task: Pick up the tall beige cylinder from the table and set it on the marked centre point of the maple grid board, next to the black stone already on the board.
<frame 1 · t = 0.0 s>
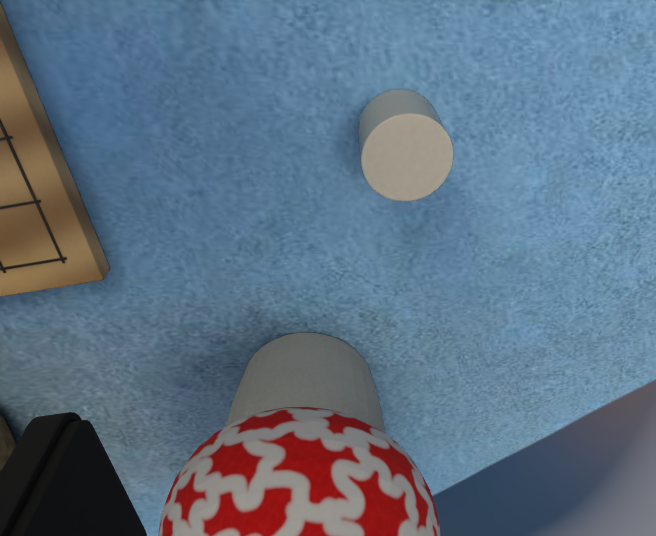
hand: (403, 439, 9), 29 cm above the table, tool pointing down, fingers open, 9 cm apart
beige cylinder: (398, 130, 36), on the table
decorative object: (307, 381, 46), on the table
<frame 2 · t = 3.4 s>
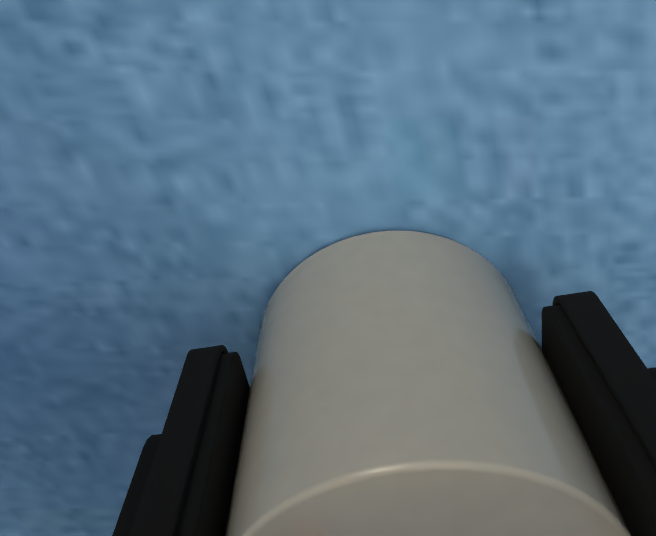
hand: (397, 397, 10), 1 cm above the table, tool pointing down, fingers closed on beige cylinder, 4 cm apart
beige cylinder: (390, 345, 11), on the table, touching gripper
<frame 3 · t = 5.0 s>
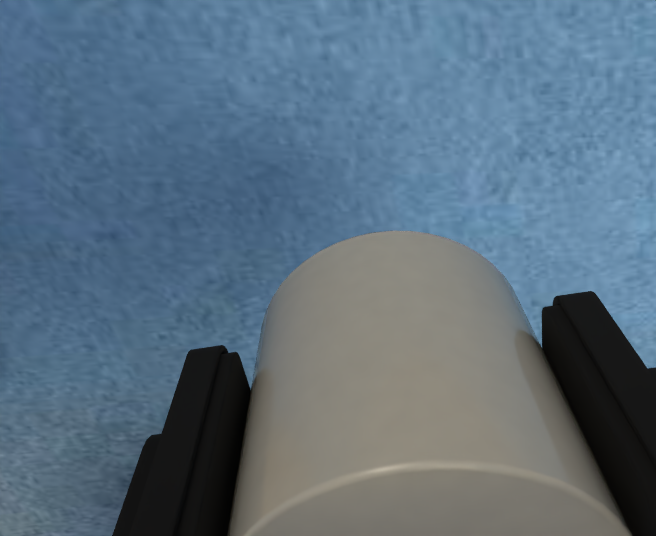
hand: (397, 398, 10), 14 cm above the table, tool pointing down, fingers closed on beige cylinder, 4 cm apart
beige cylinder: (391, 345, 11), point 13 cm above the table, touching gripper
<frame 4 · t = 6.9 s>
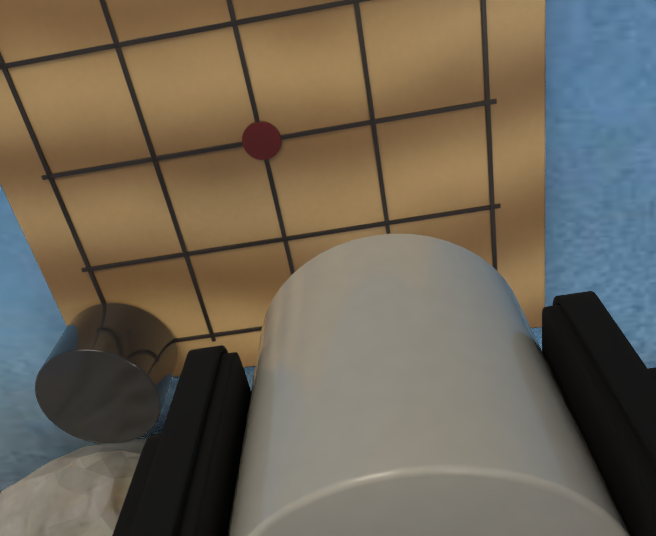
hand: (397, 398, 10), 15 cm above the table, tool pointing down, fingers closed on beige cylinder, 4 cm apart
beige cylinder: (391, 348, 11), point 14 cm above the table, touching gripper
board: (265, 127, 23), on the table
black stone: (122, 348, 27), point 2 cm above the table, touching board
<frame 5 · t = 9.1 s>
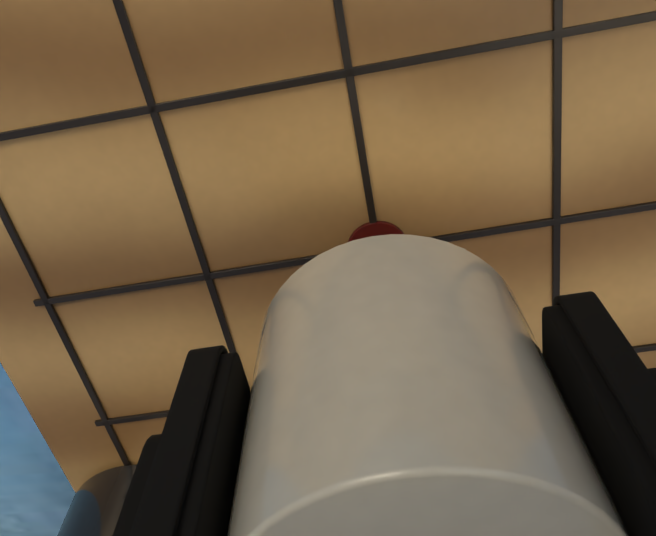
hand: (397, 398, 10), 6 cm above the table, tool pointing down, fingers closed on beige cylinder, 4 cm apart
beige cylinder: (390, 349, 11), point 5 cm above the table, touching gripper
board: (373, 219, 15), on the table
black stone: (153, 518, 19), point 2 cm above the table, touching board
when the fingers open (3 cm above the table, at t = 10.4 s): beige cylinder stays where it is, resting on board.
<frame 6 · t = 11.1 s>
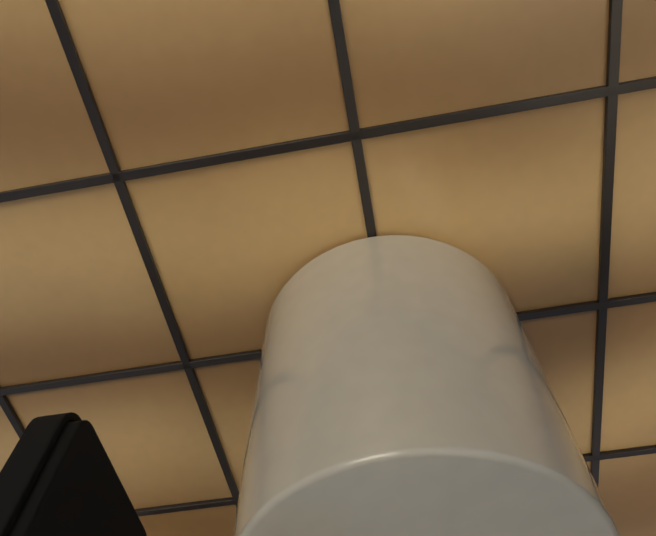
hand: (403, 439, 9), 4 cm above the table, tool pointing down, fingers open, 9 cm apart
beige cylinder: (389, 344, 12), point 2 cm above the table, touching board
board: (382, 292, 13), on the table
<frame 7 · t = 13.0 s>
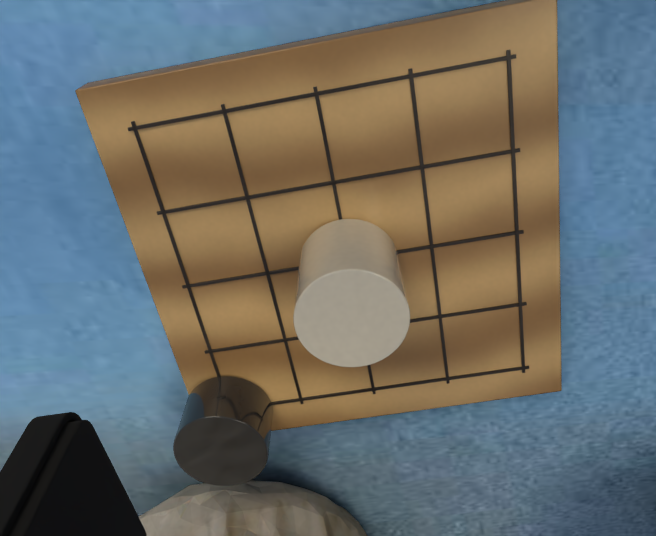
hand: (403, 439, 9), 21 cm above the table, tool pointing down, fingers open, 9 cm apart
beige cylinder: (349, 263, 30), point 2 cm above the table, touching board
board: (347, 245, 31), on the table
black stone: (230, 410, 34), point 2 cm above the table, touching board
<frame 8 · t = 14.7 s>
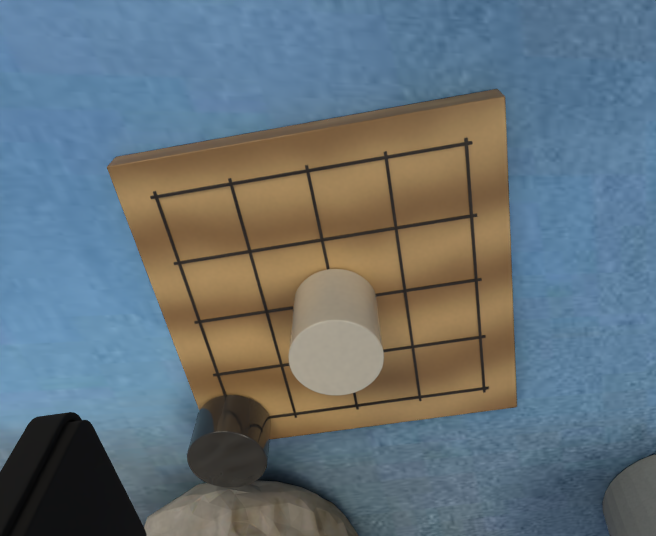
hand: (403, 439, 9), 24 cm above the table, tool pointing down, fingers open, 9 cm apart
beige cylinder: (335, 304, 35), point 2 cm above the table, touching board
board: (334, 287, 37), on the table
black stone: (234, 422, 40), point 2 cm above the table, touching board
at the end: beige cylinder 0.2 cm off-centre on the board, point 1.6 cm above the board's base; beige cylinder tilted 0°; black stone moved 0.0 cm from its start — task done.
